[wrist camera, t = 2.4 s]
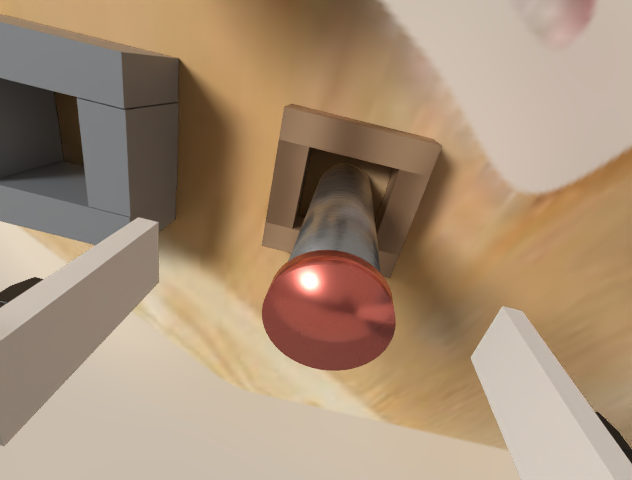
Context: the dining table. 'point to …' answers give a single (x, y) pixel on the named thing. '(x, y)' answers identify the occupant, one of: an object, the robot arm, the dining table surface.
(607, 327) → the dining table surface
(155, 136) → the block
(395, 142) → the mount collar
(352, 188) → the lock pin
